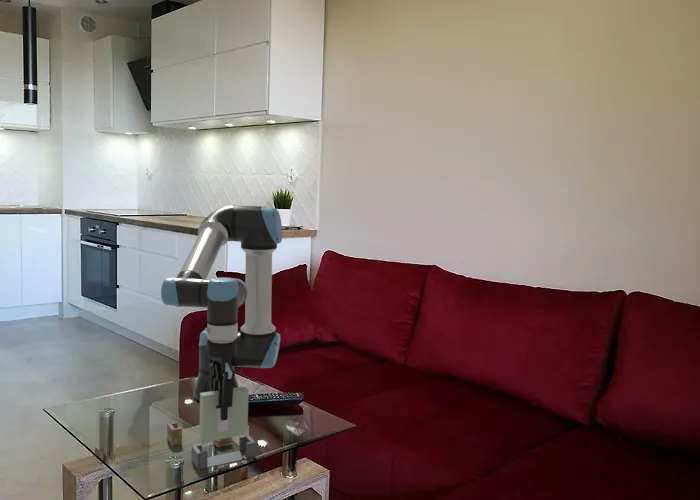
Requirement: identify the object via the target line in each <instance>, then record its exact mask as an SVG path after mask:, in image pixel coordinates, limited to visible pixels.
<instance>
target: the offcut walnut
mask: <svg viewBox="0 0 700 500" xmlns="http://www.w3.org/2000/svg"><path fill="white" fill-rule="evenodd" d="M212 441H213V442H212V443H213V445H215V444H216V445H218V446H219V447H220V446H221V447H224V446H223V445H225V446H227V445H226V444H229V443H233V437H231V438H228V439H225V440H221V441H217V440H212ZM216 445H215V446H216ZM219 447H218V448H219Z"/></svg>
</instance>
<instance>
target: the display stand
mask: <svg viewBox="0 0 700 500" xmlns="http://www.w3.org/2000/svg"><path fill="white" fill-rule="evenodd" d="M238 438H239V441H238V442H239V443H238V445H239V447H238V448H239V449H238V450H237V451H236V450H235V451H232V452H227V453H222V454H217V455H212V456H208V455H209V454H208V453H209V452H208V450H204V451H203V444H202V443H197V444H193V445H191V462H192V464H193V465H194V467H195V468H196V469H197V470H202V469H206V468H207V469H208V468H212V467H215V466H217V467H218V466H220V465H226V464H231V463H235V462H240V460H241V461H243V460H242V458H243V456H244V455H245V457H246V458H248V457H252V456H254V455H255V456H256V441H255V439H253V437H251V435H249V434H244V435H239V437H238Z"/></svg>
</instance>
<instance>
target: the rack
mask: <svg viewBox="0 0 700 500" xmlns="http://www.w3.org/2000/svg"><path fill="white" fill-rule="evenodd" d="M166 426H167V427H166V429H167V431H166V433H167V435H166V439H167V441H168V442H169V444H170V445H171V446H172V447H173V446H179V445H182V444H183V443H182V442H183V428H182V427H179V423H178V421H174V422H169V423H168V422H167V425H166Z"/></svg>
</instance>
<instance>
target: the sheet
mask: <svg viewBox="0 0 700 500" xmlns="http://www.w3.org/2000/svg"><path fill="white" fill-rule="evenodd" d="M218 405H219V391H218V390H217V391H210V392H204V393H200V401H199V437H198V439H199V440H200V441H201V442H202V443H206V442H211V441H213V440H218V439H223V438H228V437H232V438H233V437H240V436H244V435H249V433H248V431H249V429H248V428H249V427H248V424H249V423H248V422H249V388H248V387H246V386H240V387H238V388H233V400H232V407H229V411H228V431H224V432H219V433H218V432H217V408H216V406H218Z"/></svg>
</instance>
